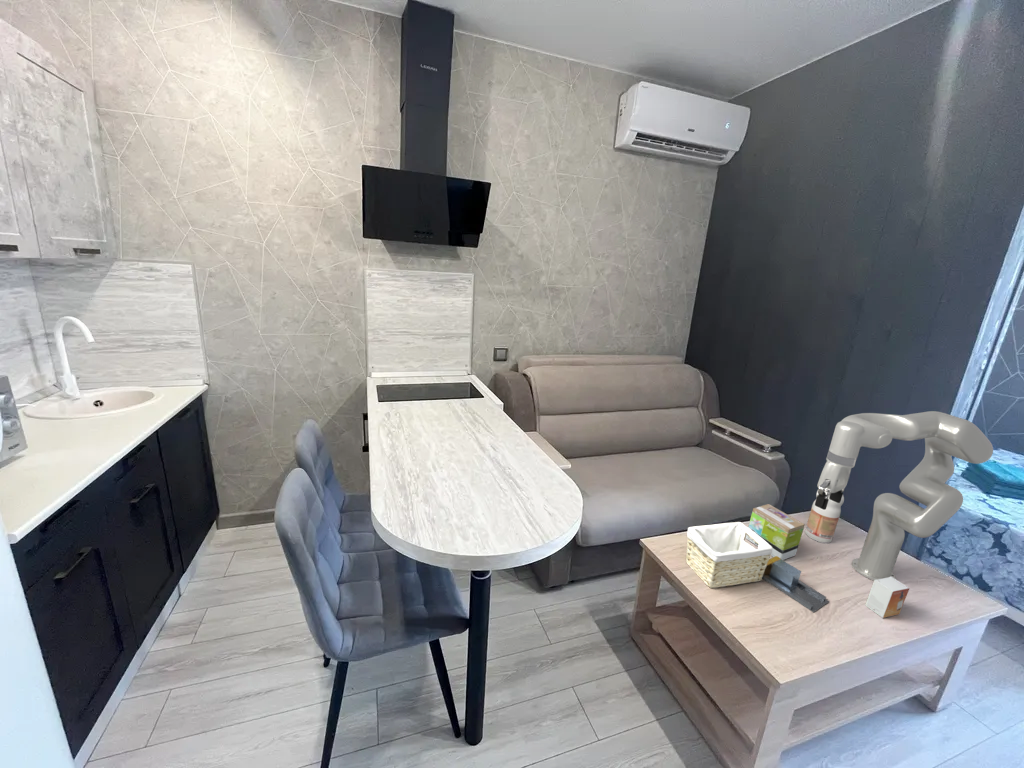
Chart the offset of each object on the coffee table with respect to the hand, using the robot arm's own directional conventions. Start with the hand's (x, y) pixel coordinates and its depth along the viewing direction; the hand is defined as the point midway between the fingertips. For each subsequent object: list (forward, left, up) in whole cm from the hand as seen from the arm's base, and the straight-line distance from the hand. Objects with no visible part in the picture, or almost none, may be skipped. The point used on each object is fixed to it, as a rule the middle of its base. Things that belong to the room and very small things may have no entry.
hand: (827, 504), depth 143 cm
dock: (+10, +1, -30) cm, 32 cm away
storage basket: (+25, -16, -31) cm, 43 cm away
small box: (-8, +20, -31) cm, 37 cm away
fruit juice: (-33, -11, -31) cm, 46 cm away
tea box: (-6, -16, -31) cm, 35 cm away
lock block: (+10, -2, -30) cm, 32 cm away
